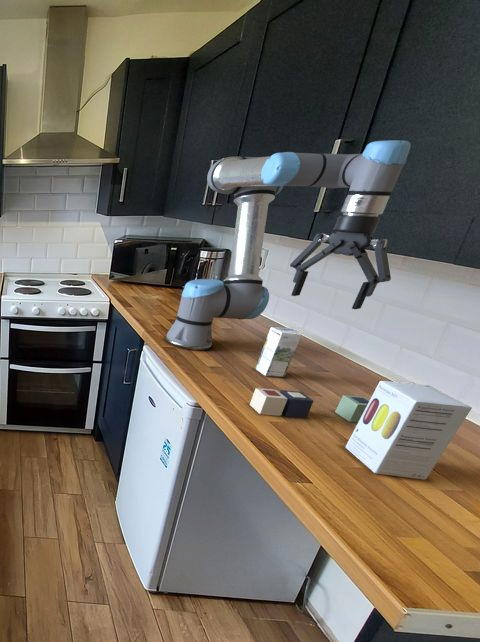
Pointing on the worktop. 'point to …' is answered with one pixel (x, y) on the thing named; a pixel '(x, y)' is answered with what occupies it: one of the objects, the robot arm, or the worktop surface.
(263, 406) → the block
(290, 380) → the worktop surface
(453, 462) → the worktop surface
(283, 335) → the syrup box
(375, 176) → the robot arm
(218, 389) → the worktop surface
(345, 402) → the block
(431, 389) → the supplement box
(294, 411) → the block
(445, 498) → the worktop surface
